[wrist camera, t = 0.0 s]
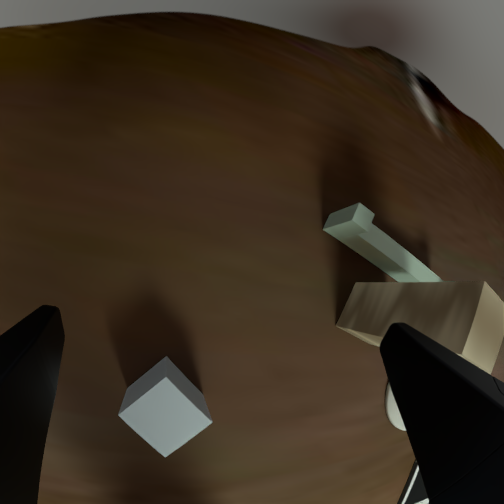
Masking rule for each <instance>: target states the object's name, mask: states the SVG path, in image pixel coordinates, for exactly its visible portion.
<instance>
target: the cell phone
mask: <svg viewBox="0 0 504 504" xmlns="http://www.w3.org/2000/svg"><path fill="white" fill-rule="evenodd" d="M397 504H429V500H428V496H427V493H426V490H425V486H424V483H423V480H422V477H421V473H420V470H419V467H418V464H417V461H415V462H414V465H413V467H412V470H411V473H410V475H409V478H408V480H407V483H406V485H405V487H404V490H403V492H402V494H401V497H400V499H399V501H398V503H397Z"/></svg>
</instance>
